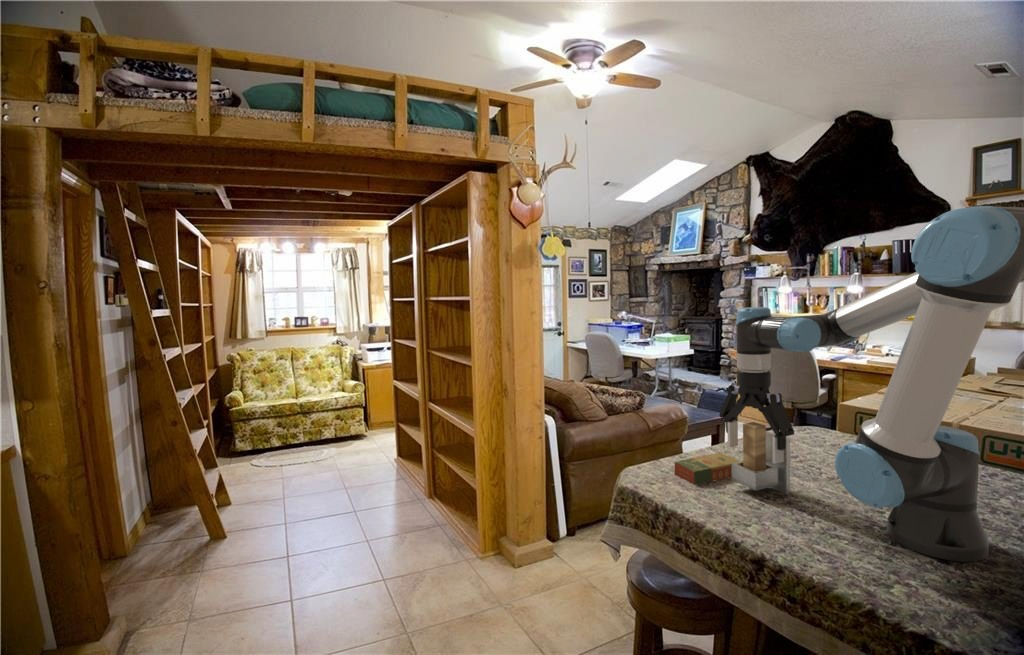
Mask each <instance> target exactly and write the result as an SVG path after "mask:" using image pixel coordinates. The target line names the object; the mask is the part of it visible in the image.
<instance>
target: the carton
mask: <svg viewBox="0 0 1024 655" xmlns="http://www.w3.org/2000/svg"><path fill="white" fill-rule="evenodd" d="M736 462H741V460H738V459H737V458H734V457H732V456H730V455H727V454H725V453H722V452H719V453H712V454H709V455H704V456H698V457H694V458H688V459H683V460H678V461H677V460H676V461H674V471H673V472H674V475H675V476H676V477H678V478H681V479H682V480H684V481H686V482H688V483H689V484H692V485H696V484H697V485H700V484H705V482H706V483H710V482H709V481H711V482H715V481H714V480H716V481H720V480H724V478H725V479H729V477H730V478H732V463H736Z"/></svg>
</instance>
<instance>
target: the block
mask: <svg viewBox="0 0 1024 655" xmlns="http://www.w3.org/2000/svg"><path fill="white" fill-rule="evenodd" d="M766 426H767V425H765V424H762V423H759V422H755V421H751V422H747V423H745V422H744V423H743V424H742V458H743V459H742V461H743V467H745V468H747V469H750V470H752V471H755V472H757V471H761V470H765V469H766V431H767V429H766V428H767V427H766Z"/></svg>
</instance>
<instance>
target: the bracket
mask: <svg viewBox="0 0 1024 655" xmlns="http://www.w3.org/2000/svg"><path fill="white" fill-rule="evenodd" d="M774 435H775V433H774V432H773V431H772V432H771V431H768V430H766V469H765V470H761V471H757V472H755V471H752V470H750V469H747V468H745V467H743V460H742V461H741V460H740V461H741V462H736V463H732V477H731V481H733V482H735V483H738V484H739V485H742V486H744V487H747V488H749V489H751V490H754V491H760V490H763V489H767V488H769V489H773V490H776V491H778V492H780V493H782V494H785V495H789V494H791V437H789V436H786V449H785V450H784V462H781V463H776V464H775V463H773V454H772V436H774Z"/></svg>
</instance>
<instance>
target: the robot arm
mask: <svg viewBox="0 0 1024 655" xmlns="http://www.w3.org/2000/svg"><path fill="white" fill-rule="evenodd" d="M910 253H911V254H910V256H911V262H912V263H913V264H914V265H915V267H914V270H915V272H913V273H911V274H909V275H906V276H904V277H903V278H899V279H898V280H896V281H893V282H891V283H890V284H887V285H885V286H882V287H881V288H879V289H875V290H874V291H872V292H870V293H868V294H865V295H862V296H861V297H859V298H857V299H855V300H852V301H850V302H848V303H846V304H844V305H842V306H840V307H838V308H836V309H833V310H831V311H829V312H826V313H823V314H821V313H820V314H813V315H811V314H810V315H798V316H772V314H771V313H772V312H771V309H770V307H767V306H766V307H764V306H754V307H753V306H751V307H741V308H739V309H738V310H737V311H736V323H735V328H736V368H737V369H738V370H737V371H736V383H737V384H731V385H728V388H727V389H728V390H727V395H726V397H725V400H724V402H723V405H722V406H721V409H720V411H719V418H721V419H724V421H725V428H726V429H725V432H726V433H727V447H728V448H733V447H737V446H739V432H738V430H739V428H738V424H739V422H738V420H737V418H738V416H739V415H740V414H741V413H742V412H743V410H744V409H745V408H746V407H749V408H752V409H757V410H758V411H759V412H761V414H762V415H763V416H764V419H765V420H766V422H767V423H768V426H770V428H771V430H772V432H773V433H775V435H774V436H772V454H773V463H775V464H776V463H781V462H784V450H785V449H786V437H789V436H793V435H795V431H794V428H793V426H792V425H793V424H792V423H791V420H790V417H789V415H788V413H787V410H786V409H785V406H784V403H783V396H782V393H780V392H776V393H771V392H770V387H771V384H772V372H771V371H770V369H771V368H772V366H771V364H772V363H771V362H772V361H771V360H772V359H771V354H772V353H771V352H772V350H771V349H774V350H782V351H787V352H790V353H791V352H792V353H799V352H800V353H808V352H811V351H813V350H814V349H816V348H817V349H818V348H825V347H840V346H845V345H849V344H850V345H851V344H853V343H854V342H856V341H857V340H859V337H861V336H863V335H866V334H867V335H868V334H870V333H872V332H875V331H876V330H879V329H881V328H882V329H883V328H885V327H887V326H891V325H892V324H896V323H898V322H900V321H904V320H906V319H908V318H912V317H914V318H913V319H912V324H911V326H910V328H909V331H908V334H907V337H906V339H905V341H904V343H903V346H902V349H901V351H900V354H899V356H898V359H897V362H896V363H895V367H894V369H893V372H892V374H891V377H890V380H889V383H888V385H887V388H886V390H885V392H884V395H883V398H882V400H881V403H880V404H879V408H878V411H877V413H876V416H875V418H874V417H873V418H870V419H867V420H865V421H863V422H862V424H861V426H860V428H859V429H860V430H859V431H858V434H857V436H856V440H855V441H854V442H850V443H847V444H844V445H843V446H841V448H839V449H838V451H837V452H836V455H835V457H834V458H835V459H834V466H835V467H834V468H835V471H836V474H837V476H838V478H839V479H840V483H841V484H842V486H843V487H844V489H845V490H846V492H848V493H849V494H850V495H851V496H852V497H853V498H854V499H856V500H857V501H859V502H860V503H862V504H864V505H866V506H868V507H872V508H873V507H874V508H878V509H879V508H881V509H882V508H892V509H891V510H890V513H889V515H888V518H887V520H886V533H887V535H888V536H889V537H890V539H892V540H894V541H895V542H896V543H898V544H899V545H901V546H902V547H905V548H907V549H909V550H911V551H914V552H916V553H919V554H922V555H924V556H925V555H926V556H929V557H933V558H936V559H940V560H947V561H953V562H965V563H969V562H971V563H972V562H980V561H983V560H985V559H987V557H989V554H990V553H989V550H990V549H989V548H990V542H989V539H988V536H987V534H986V532H985V529H984V526H983V524H982V521H981V518H980V516H979V513H978V489H979V488H978V485H979V466H980V465H979V464H980V463H979V461H980V460H979V459H980V455H981V452H980V451H979V450H980V449H979V440H978V438H977V436H976V435H974V434H973V433H971V432H969V431H967V430H963V429H960V428H957V427H956V428H955V427H953V426H946V425H942V421H943V419H944V417H945V415H946V412H947V410H948V407H949V406H950V403H951V401H952V399H953V397H954V395H955V392H956V390H957V388H958V386H959V383H960V382H961V380H962V377H963V374H964V373H965V370H966V368H967V366H968V364H969V361H970V359H971V356H972V354H973V353H974V350H975V348H976V346H977V344H978V342H979V340H980V338H981V335H982V333H983V331H984V328H985V326H986V324H987V322H988V319H989V317H990V315H991V313H992V312H993V311H994V310H997V309H1000V308H1003V307H1005V306H1008V305H1009V304H1010V303H1011V301H1012V298H1013V296H1014V294H1015V292H1016V290H1017V288H1018V285H1019V284H1020V283H1023V282H1024V206H992V205H976V206H975V205H974V206H968V207H961V208H957V209H953V210H949V211H947V212H943V213H942V214H939V216H937V217H935V218H933V219H932V220H930V221H929V222H928V223H927V224H926V225H924V227H923V228H922V229H921V230H920V231H919V232H918V234H917V235H916V238H915V239H914V242H913V244H912V248H911V252H910ZM738 397H739V398H738ZM735 403H736V404H735Z"/></svg>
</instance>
